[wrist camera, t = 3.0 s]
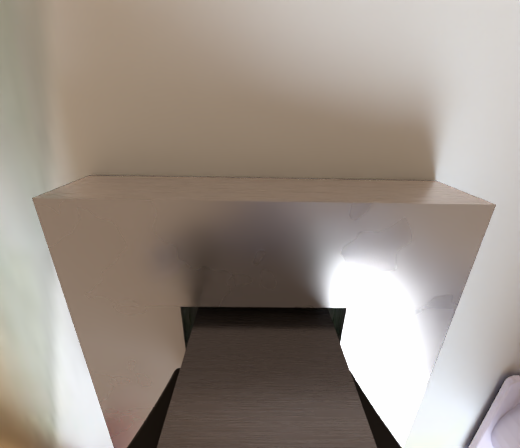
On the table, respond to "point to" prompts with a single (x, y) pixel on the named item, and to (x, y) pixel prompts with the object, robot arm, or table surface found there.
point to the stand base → (260, 273)
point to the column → (265, 383)
